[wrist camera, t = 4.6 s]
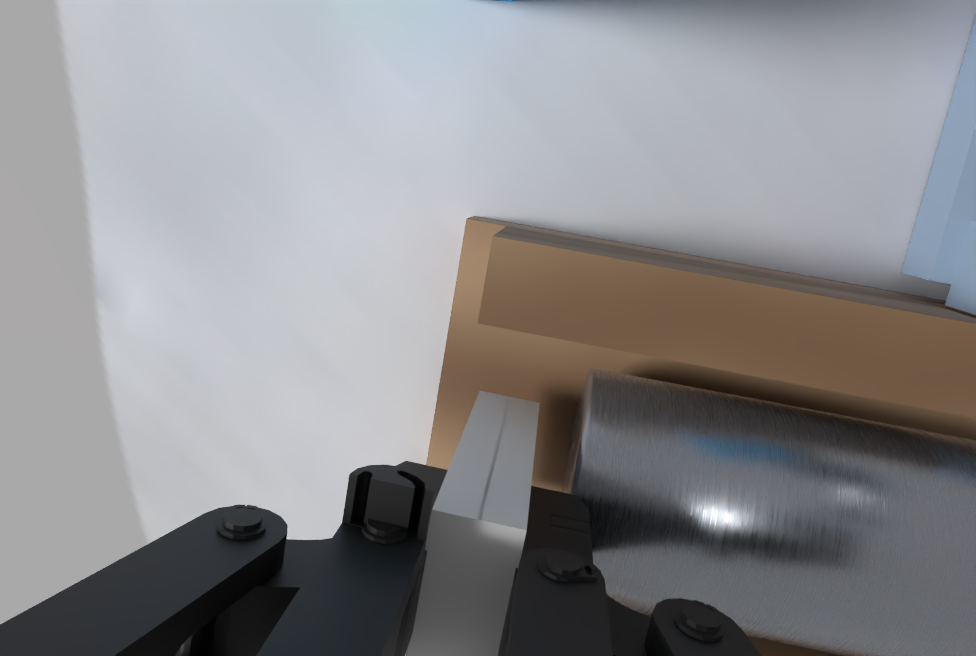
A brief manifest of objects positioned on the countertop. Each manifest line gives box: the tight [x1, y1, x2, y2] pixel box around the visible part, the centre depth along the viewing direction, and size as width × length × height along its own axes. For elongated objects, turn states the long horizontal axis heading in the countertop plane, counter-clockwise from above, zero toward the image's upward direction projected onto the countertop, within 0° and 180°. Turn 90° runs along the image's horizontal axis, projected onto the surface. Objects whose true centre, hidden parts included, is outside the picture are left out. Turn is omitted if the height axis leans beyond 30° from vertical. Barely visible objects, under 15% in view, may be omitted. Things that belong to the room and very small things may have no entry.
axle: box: [561, 368, 976, 656], centre depth 16 cm, size 14×5×5 cm, turn 80°
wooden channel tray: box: [426, 216, 976, 656], centre depth 17 cm, size 10×24×5 cm, turn 80°
